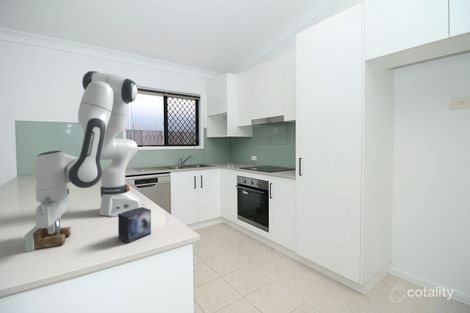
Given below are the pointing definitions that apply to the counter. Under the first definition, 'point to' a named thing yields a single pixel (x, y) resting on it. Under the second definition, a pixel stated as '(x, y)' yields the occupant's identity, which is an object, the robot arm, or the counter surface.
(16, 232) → the counter surface
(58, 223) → the dowel
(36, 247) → the block
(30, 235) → the wall
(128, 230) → the small box
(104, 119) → the robot arm
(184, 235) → the counter surface
